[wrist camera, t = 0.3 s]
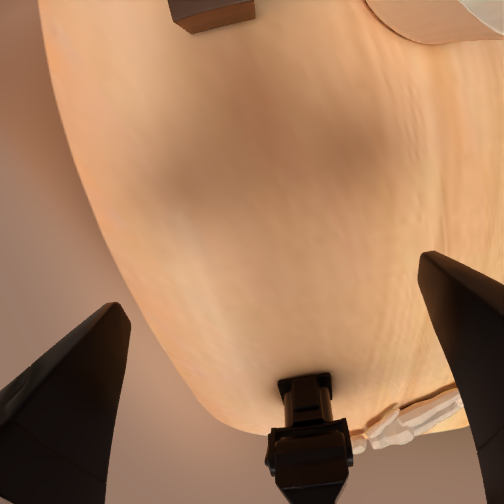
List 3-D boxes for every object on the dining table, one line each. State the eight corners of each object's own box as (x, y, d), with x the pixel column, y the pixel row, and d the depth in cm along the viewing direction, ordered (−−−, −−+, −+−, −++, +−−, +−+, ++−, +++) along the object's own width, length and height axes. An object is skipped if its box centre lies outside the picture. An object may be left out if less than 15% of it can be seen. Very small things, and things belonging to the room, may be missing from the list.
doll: (469, 356, 34) (331, 422, 42) (483, 381, 29) (333, 451, 37) (474, 393, 37) (356, 448, 45) (484, 416, 32) (358, 472, 40)
